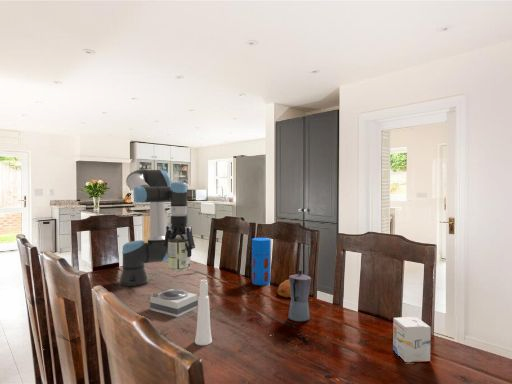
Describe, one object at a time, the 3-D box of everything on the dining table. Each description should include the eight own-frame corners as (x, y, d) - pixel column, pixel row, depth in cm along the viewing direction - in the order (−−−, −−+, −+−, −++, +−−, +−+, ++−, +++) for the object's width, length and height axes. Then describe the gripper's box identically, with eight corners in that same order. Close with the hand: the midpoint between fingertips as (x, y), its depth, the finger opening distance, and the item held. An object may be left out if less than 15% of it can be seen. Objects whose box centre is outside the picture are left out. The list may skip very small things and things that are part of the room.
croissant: (289, 292, 187) (288, 277, 188) (312, 294, 176) (310, 278, 177) (270, 297, 177) (269, 281, 178) (294, 300, 166) (292, 283, 167)
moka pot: (313, 313, 150) (314, 268, 149) (306, 327, 135) (307, 276, 135) (292, 311, 153) (292, 266, 152) (283, 324, 138) (283, 274, 138)
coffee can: (176, 265, 169) (176, 236, 168) (194, 267, 164) (194, 237, 164) (163, 269, 159) (162, 239, 159) (181, 271, 155) (181, 240, 155)
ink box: (392, 351, 116) (392, 316, 116) (416, 350, 117) (416, 315, 117) (405, 364, 108) (405, 327, 108) (431, 363, 108) (431, 326, 108)
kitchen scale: (150, 309, 153) (150, 294, 153) (171, 301, 165) (171, 287, 165) (177, 317, 145) (177, 300, 145) (197, 307, 157) (197, 292, 156)
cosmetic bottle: (202, 336, 127) (202, 277, 126) (215, 340, 124) (215, 279, 123) (191, 343, 121) (191, 280, 121) (204, 347, 118) (205, 283, 118)
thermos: (271, 280, 203) (271, 237, 202) (270, 285, 192) (270, 240, 191) (252, 279, 204) (252, 237, 203) (250, 284, 193) (250, 240, 192)
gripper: (155, 214, 164) (155, 261, 164) (192, 216, 153) (192, 266, 153) (166, 213, 170) (166, 258, 171) (203, 215, 159) (203, 263, 160)
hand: (178, 262), depth 162 cm, fingers closed on coffee can, 10 cm apart
